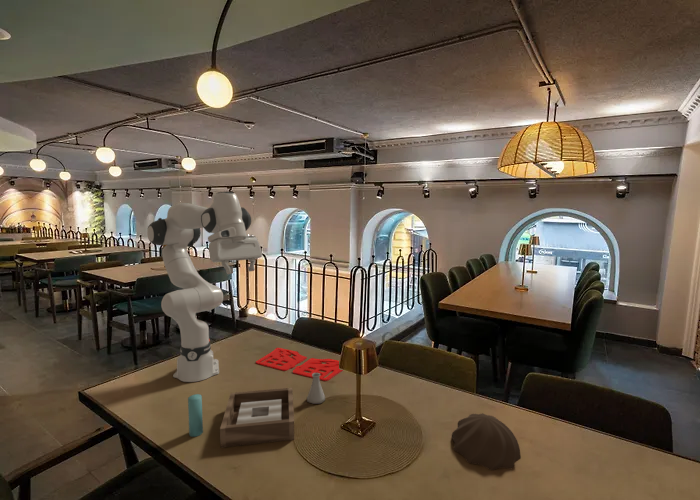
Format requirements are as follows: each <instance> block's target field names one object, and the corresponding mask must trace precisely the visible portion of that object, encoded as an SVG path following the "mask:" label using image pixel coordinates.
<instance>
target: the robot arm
mask: <svg viewBox="0 0 700 500" xmlns="http://www.w3.org/2000/svg"><path fill="white" fill-rule="evenodd" d="M240 203H241V202H240V200H239V197H238V195H237V193H235V192H233V191H219V192H216V193H215V194H214V195H213V200H212V203H211V205H210V206H209V207H207V206H202V205H198V204H195V203H188V202H180V203H176V204H173V205H171V206H170V208H169V209H168V210H167V214H166V218H161V217H159V218H158V219H157V220H155V221H152V222H151V223H149V225H148V226H147V231H146V234H147V235H146V236H147V238H148V241H149V242H150V243H151V244H152V245H155V246H164V245H165V246H164V247H163V249H162V251H161V257H162V262H163V265H164V268H165V270H166V272H167V273H166V274H167V276H168V277H169V278H168V279H169V281H170V282H171V284H173V286H175V287H178V288H180V289H177V290H174V291H170V292H168V293H165V295H163V297H162V299H161V302H160V304H161V305H160V306H161V310H162V312H163V313H164V314H165V315H166V316H167V317H170V318H171V319H173V320H174V321H175V322H176V323H177V325H178V328H179V331H180V340H181V342H180V343H181V344H180V349H179V351H180V355H179V356H178V358H177V359H176V360H177V361H176V371H175V373H173V376H172V377H173V378H176V379H178V380H179V381H181V382H184V383H193V382H194V383H195V382H199V381H203V380H206V379H210V378H211V377H213V376H216V375H219V374H220V367H219V366H220V365H219V363H220V361H219V359H217V358H214V351H213V350H212V349H211V347H212V346H211V340H210V331H209V330H210V329H209V324H208V323H207V322H206V321H203V320H201V319H198V318H197V315H196V314H198V313H201V312H206V311H207V312H208V311H211V310H213V309H216V308H218V307H220V306H222V304H223V301H224V293H223V290H222V288H221V287H219V286H217V285H214V284H212V283H210V282H208V281H207V280H205V278H203V277H202V276H201V275H200V274H199V272H198V271H197V269H196V267H195V266H194V265H195V264H194V263H193V260H192V259H191V257H190V254H189V253H188V247H189V248H191V247H194V244H196V243H197V242H198V241H199V239H200V238H201V232H202V231H201V228H203V230H204V231H206V232H207V233H209V234H210V235H209V236H207V241H208V242H209V244H208V253H209V259H210V260H211V262H212V263H221V266H222V268H223V269H224V270H225V271H226V272H225V273H226V274H227V275H232V274H234V269H233V267H231V266H230V265H229V264H230V263H229V262H234V261H235V262H237V261H247V260H248V262H249V266H247V269H248V272H254V271H255V270H256V269H255V264H256V260H257V259H260V258H262V256H263V251H262V248H261V247H262V246H261V245H260V242H259V239H258V237H256V235H254V234H247V231H248V229H249V228H250V227H251V226H252V225H251V224H252V217H251V214H250V213H249V211H248V210H247V209H246V208H245V207H241V204H240Z"/></svg>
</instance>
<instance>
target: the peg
mask: <svg viewBox="0 0 700 500" xmlns="http://www.w3.org/2000/svg"><path fill="white" fill-rule="evenodd" d="M202 400H203V397H202V394H199V393H196V394H195V393H194V394H192V395H189V397H187V403H188V404H187V405H188V435H189V437H192V438H195V437H196V438H197V437H199V436H201V435H202V434H203V433H204V427H203V425H204V424H203V423H204V422H203V421H204V420H203V401H202Z"/></svg>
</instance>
